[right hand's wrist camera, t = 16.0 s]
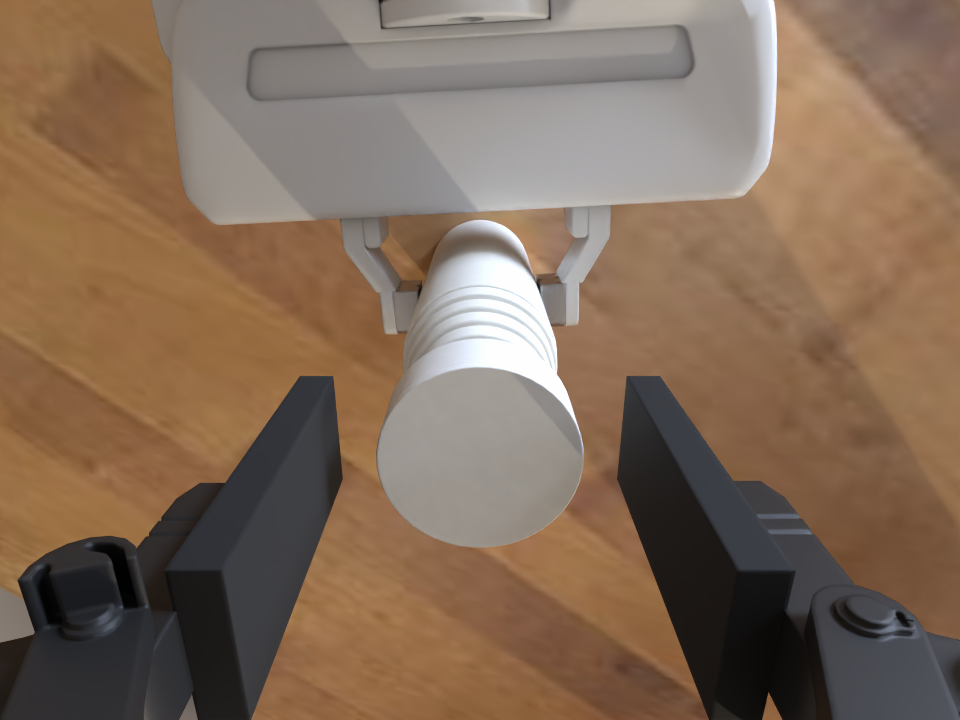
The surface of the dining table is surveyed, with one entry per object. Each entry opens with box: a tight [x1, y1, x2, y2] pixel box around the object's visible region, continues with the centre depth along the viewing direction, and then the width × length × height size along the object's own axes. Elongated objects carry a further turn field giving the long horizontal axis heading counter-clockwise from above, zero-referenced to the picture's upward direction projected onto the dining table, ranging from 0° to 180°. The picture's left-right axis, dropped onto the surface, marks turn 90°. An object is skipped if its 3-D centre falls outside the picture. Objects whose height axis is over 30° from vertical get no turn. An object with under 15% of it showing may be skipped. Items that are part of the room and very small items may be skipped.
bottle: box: [403, 220, 557, 373], centre depth 22 cm, size 5×5×18 cm
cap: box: [376, 338, 584, 547], centre depth 14 cm, size 4×4×2 cm
